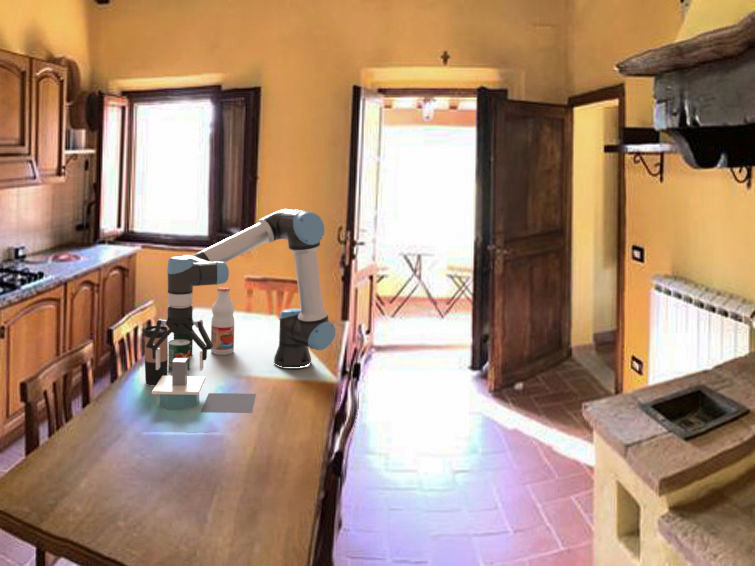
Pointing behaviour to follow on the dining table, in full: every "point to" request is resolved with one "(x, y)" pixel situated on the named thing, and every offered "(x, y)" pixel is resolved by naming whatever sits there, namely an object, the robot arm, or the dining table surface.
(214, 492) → the dining table surface
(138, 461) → the dining table surface
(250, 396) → the mat
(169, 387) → the lid
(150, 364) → the travel mug
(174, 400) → the bowl
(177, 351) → the canned tomato
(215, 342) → the fruit juice
